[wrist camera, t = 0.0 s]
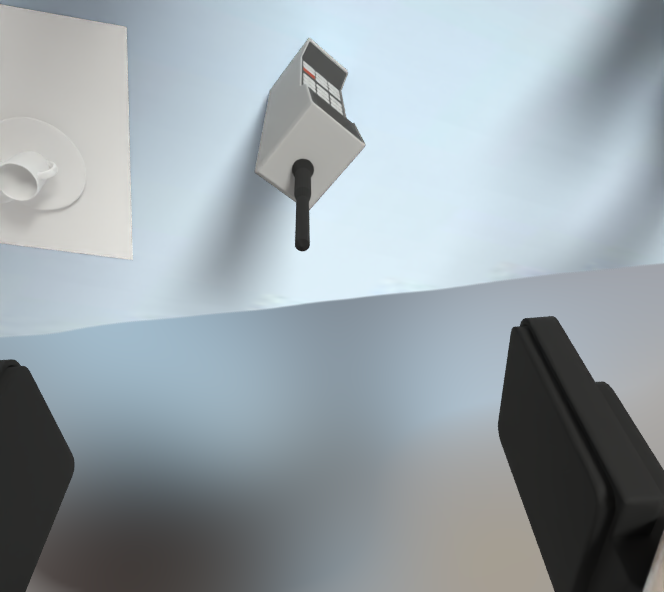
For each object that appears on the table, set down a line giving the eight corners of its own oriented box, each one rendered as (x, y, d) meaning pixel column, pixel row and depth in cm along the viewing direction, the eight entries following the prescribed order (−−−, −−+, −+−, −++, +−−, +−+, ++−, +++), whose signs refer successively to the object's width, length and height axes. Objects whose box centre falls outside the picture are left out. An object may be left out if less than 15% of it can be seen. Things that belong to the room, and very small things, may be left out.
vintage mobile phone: (347, 69, 43) (385, 219, 23) (307, 119, 45) (308, 299, 25) (309, 35, 42) (313, 164, 21) (269, 89, 44) (238, 253, 23)
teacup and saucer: (-17, 198, 48) (-41, 221, 45) (-34, 105, 44) (-62, 122, 40) (90, 213, 49) (75, 236, 46) (84, 123, 45) (66, 141, 42)
